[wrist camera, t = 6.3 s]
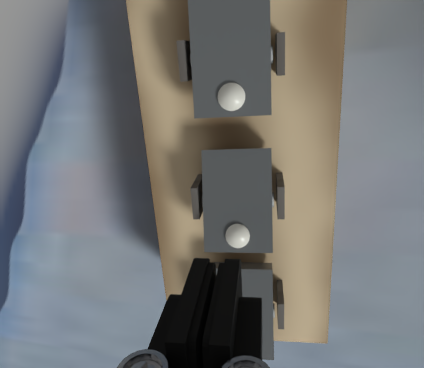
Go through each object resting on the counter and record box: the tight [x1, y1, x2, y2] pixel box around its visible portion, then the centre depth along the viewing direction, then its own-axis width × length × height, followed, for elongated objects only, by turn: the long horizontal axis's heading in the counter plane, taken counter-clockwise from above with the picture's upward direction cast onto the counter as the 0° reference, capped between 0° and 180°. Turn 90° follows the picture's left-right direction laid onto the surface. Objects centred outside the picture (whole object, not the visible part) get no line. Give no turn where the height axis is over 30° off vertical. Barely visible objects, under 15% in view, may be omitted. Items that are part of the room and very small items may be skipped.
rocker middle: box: [201, 148, 274, 253], centre depth 21 cm, size 4×6×2 cm
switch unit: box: [126, 0, 347, 343], centre depth 25 cm, size 12×25×11 cm, turn 4°
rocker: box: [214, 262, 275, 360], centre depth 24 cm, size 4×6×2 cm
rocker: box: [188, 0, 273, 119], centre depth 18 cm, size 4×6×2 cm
